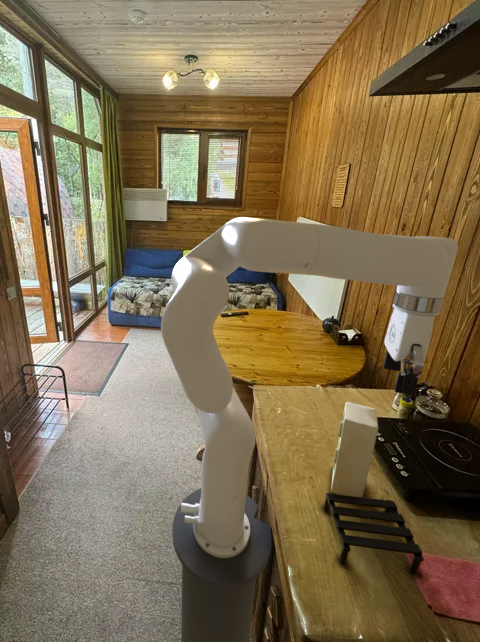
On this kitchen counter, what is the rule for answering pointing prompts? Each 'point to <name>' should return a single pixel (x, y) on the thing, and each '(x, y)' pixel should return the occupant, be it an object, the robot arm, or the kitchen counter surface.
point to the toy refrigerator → (354, 449)
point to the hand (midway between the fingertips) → (397, 380)
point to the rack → (372, 527)
